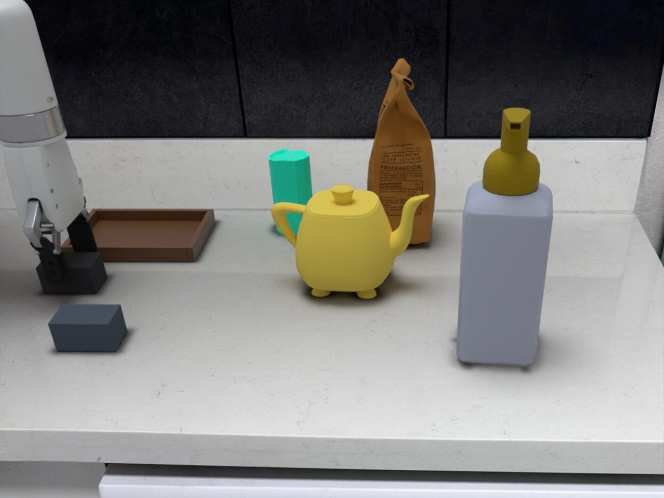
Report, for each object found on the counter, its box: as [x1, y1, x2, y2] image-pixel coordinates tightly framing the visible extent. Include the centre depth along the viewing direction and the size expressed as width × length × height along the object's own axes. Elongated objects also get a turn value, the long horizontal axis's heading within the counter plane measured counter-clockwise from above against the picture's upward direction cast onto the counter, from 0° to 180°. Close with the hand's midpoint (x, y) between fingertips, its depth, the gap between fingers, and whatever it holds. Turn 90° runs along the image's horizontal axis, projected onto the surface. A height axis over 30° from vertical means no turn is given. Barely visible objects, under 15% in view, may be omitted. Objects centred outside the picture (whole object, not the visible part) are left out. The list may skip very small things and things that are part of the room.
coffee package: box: [366, 58, 437, 245], centre depth 110 cm, size 10×12×22 cm
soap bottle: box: [455, 107, 554, 367], centre depth 84 cm, size 9×9×25 cm
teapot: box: [270, 183, 429, 300], centre depth 101 cm, size 13×20×12 cm
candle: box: [268, 142, 314, 237], centre depth 115 cm, size 6×6×12 cm
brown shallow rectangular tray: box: [61, 208, 216, 263], centre depth 115 cm, size 19×15×2 cm
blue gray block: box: [47, 303, 128, 352], centre depth 93 cm, size 7×5×4 cm
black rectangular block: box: [35, 252, 108, 295], centre depth 104 cm, size 7×5×4 cm
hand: (74, 266), depth 103 cm, fingers open, 9 cm apart
